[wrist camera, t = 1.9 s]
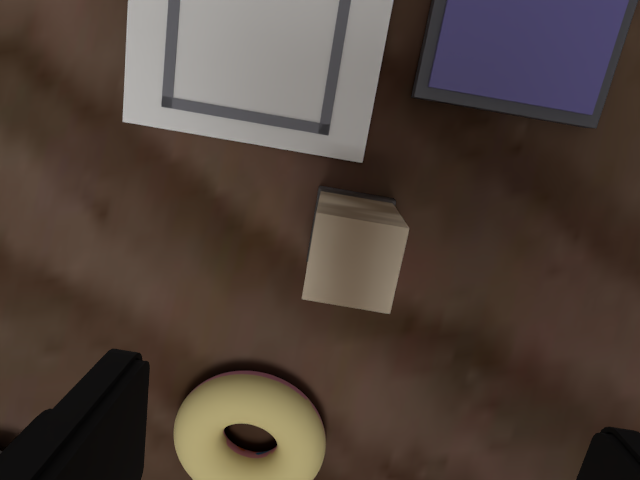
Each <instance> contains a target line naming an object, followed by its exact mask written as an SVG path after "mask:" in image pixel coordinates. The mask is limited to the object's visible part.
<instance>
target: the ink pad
mask: <svg viewBox="0 0 640 480" xmlns="http://www.w3.org/2000/svg"><path fill="white" fill-rule="evenodd" d="M637 2H638V0H432V1H431V6H430V10H429V15H428V20H427V25H426V29H425V34H424V39H423V43H422V48H421V53H420V58H419V62H418V67H417V72H416V77H415V81H414V86H413V91H412V95H411V98H417V99H423V100H429V101H434V102H440V103H446V104H452V105H457V106H463V107H469V108H475V109H480V110H486V111H492V112H498V113H503V114H509V115H515V116H521V117H526V118H532V119H538V120H544V121H549V122H555V123H561V124H567V125H572V126H578V127H584V128H597V125H598V122H599V119H600V115H601V112H602V109H603V106H604V103H605V100H606V97H607V94H608V91H609V88H610V85H611V82H612V79H613V76H614V72H615V69H616V66H617V63H618V60H619V57H620V54H621V51H622V48H623V45H624V42H625V39H626V36H627V33H628V29H629V26H630V23H631V20H632V17H633V14H634V11H635V8H636V5H637Z"/></svg>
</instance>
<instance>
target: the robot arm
mask: <svg viewBox="0 0 640 480" xmlns="http://www.w3.org/2000/svg"><path fill="white" fill-rule="evenodd" d="M149 370H150V366H149V362H148V361H142V356H141V354H140V353H137V352H131V351H125V350H118V349H111V350H109V351H108V352H107V353H106V354H105V355H104V356H103V357H102V358H101V359H100V360H99V361H98V362H97V363H96V364H95V365H94V367H93V368H92V369H91V370H90V371H89V372H88V373H87V374H86V375H85V376H84V377H83V378H82V379H81V380H80V381H79V382H78V383H77V384H76V385H75V386H74V387H73V388H72V389H71V390H70V391H69V392H68V393H67V395H66V396H65V397H64V398H63V399H62V400H61V401H60V402H59V403H58V404H57V405H56V406H55V407H54V408H53V409H48V410H45V411H43V412H42V413H41V414H39V415H38V416H37V417H36V418H35V419H34V420H33V421H32V422H31V423H30V424H29V425H28V426H27V427H26V428H25V429H24V430H23V431H22V432H21V433H20V434H19V435H18V436H17V437H16V438H15V439H14V440H13V441H12V442H11V443H10V444H9V445H8V446H7V447H6V448H5V449H4V450H3V451H2V452H1V453H0V480H141V477H142V473H143V468H144V453H145V437H146V420H147V403H148V386H149ZM576 480H640V433H639V432H637V431H633V430H626V429H620V428H614V427H605V428H604V429H602V430H601V432H600V433H596V434H595V435H594V436H593V438H592V440H591V443H590V445H589V448H588V451H587V453H586V456H585V458H584V461H583V463H582V466H581V469H580V471H579V474H578V476H577V479H576Z"/></svg>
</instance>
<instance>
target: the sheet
mask: <svg viewBox="0 0 640 480" xmlns="http://www.w3.org/2000/svg"><path fill="white" fill-rule="evenodd" d="M392 5H393V0H128V13H127V35H126V58H125V80H124V103H123V122H127V123H133V124H139V125H145V126H150V127H156V128H162V129H168V130H174V131H179V132H185V133H191V134H197V135H203V136H209V137H214V138H220V139H226V140H232V141H238V142H243V143H249V144H255V145H261V146H267V147H272V148H278V149H284V150H290V151H296V152H301V153H307V154H313V155H319V156H325V157H331V158H336V159H342V160H348V161H354V162H360V163H363V157H364V152H365V147H366V142H367V137H368V131H369V126H370V121H371V116H372V110H373V105H374V100H375V95H376V89H377V84H378V79H379V74H380V68H381V63H382V58H383V53H384V47H385V42H386V37H387V32H388V26H389V21H390V16H391V11H392Z"/></svg>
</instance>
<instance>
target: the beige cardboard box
mask: <svg viewBox="0 0 640 480" xmlns="http://www.w3.org/2000/svg"><path fill="white" fill-rule="evenodd" d="M395 204H396V201H395V199H394V198H389V197H383V196H378V195H372V194H366V193H360V192H354V191H348V190H343V189H337V188H331V187H325V186H319V189H318V195H317V201H316V207H315V213H314V219H313V225H312V231H311V237H310V243H309V249H308V255H307V261H306V262H308V265H307V270H306V276H305V282H304V288H303V294H302V299H304V300H310V301H316V302H322V303H327V304H333V305H339V306H345V307H351V308H357V309H363V310H369V311H375V312H381V313H387V314H390V312H391V307H392V303H393V298H394V294H395V290H396V285H397V281H398V276H399V272H400V268H401V263H402V259H403V255H404V250H405V246H406V241H407V237H408V233H409V227H408V226H407V224H406V222H405V221H404V219H403V218H402V216H401V215H400V213H399V212H398V210H397V209H396V207H395Z"/></svg>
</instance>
